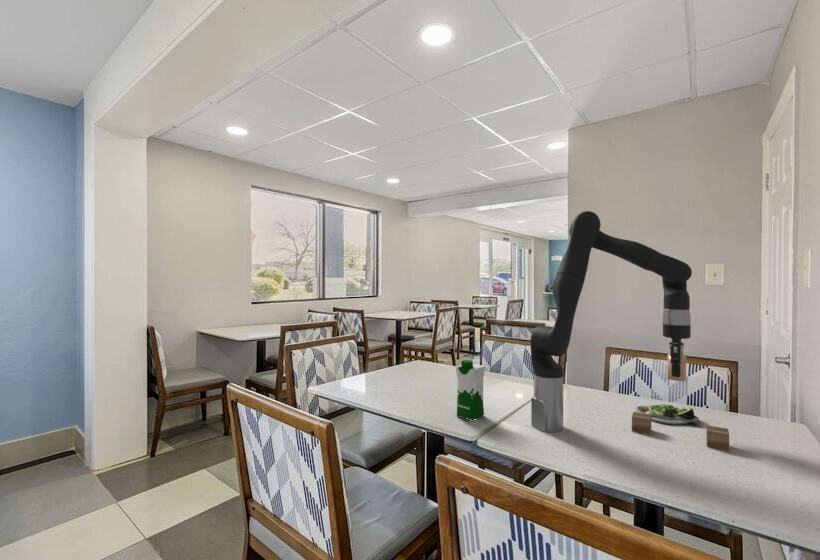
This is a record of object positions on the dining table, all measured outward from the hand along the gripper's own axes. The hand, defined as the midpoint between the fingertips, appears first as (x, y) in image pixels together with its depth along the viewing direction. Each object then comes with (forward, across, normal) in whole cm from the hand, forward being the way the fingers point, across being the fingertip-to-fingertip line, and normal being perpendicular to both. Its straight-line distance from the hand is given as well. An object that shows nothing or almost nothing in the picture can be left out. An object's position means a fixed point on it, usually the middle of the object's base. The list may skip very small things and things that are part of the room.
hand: (676, 374), depth 127 cm
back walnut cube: (+18, -9, +9) cm, 22 cm away
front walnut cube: (+18, -9, -10) cm, 22 cm away
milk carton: (+17, -30, +60) cm, 69 cm away
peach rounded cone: (+1, 0, 0) cm, 1 cm away
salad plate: (+18, +11, +3) cm, 22 cm away
